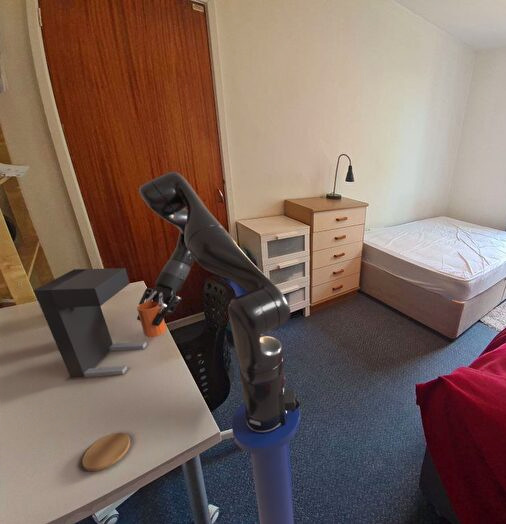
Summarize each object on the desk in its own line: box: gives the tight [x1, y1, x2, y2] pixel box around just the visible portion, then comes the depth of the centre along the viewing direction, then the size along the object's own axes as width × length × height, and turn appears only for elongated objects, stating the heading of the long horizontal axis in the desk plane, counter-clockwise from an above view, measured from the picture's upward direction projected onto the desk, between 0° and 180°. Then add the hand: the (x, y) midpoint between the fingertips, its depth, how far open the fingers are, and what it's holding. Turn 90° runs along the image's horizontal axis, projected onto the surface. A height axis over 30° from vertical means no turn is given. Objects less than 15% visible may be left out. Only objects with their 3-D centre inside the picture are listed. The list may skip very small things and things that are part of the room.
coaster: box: [81, 432, 131, 472], centre depth 58 cm, size 8×8×1 cm
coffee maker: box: [33, 267, 148, 379], centre depth 79 cm, size 13×13×27 cm
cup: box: [136, 300, 167, 338], centre depth 90 cm, size 6×6×10 cm
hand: (147, 322), depth 89 cm, fingers closed on cup, 6 cm apart
